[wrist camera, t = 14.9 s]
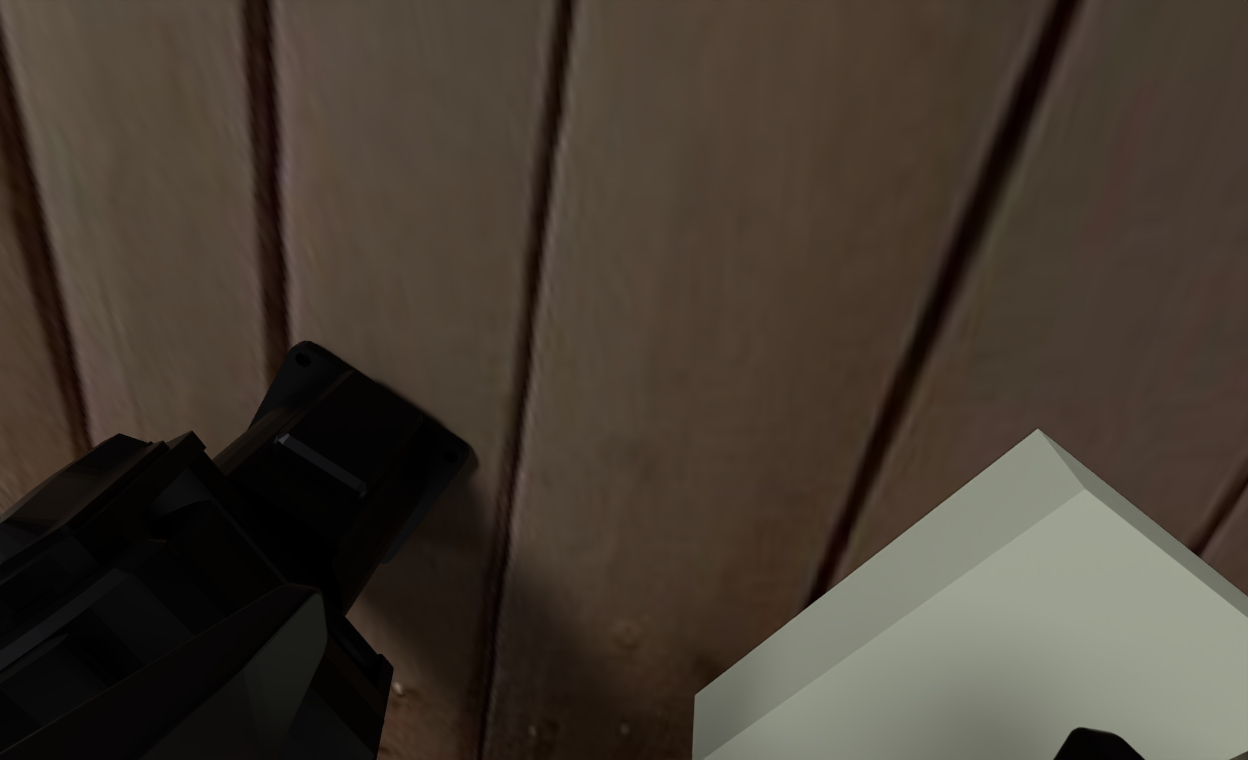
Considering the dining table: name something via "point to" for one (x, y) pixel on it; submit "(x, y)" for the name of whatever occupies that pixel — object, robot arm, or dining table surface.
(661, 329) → the dining table surface
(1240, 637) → the pin board
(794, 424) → the dining table surface
